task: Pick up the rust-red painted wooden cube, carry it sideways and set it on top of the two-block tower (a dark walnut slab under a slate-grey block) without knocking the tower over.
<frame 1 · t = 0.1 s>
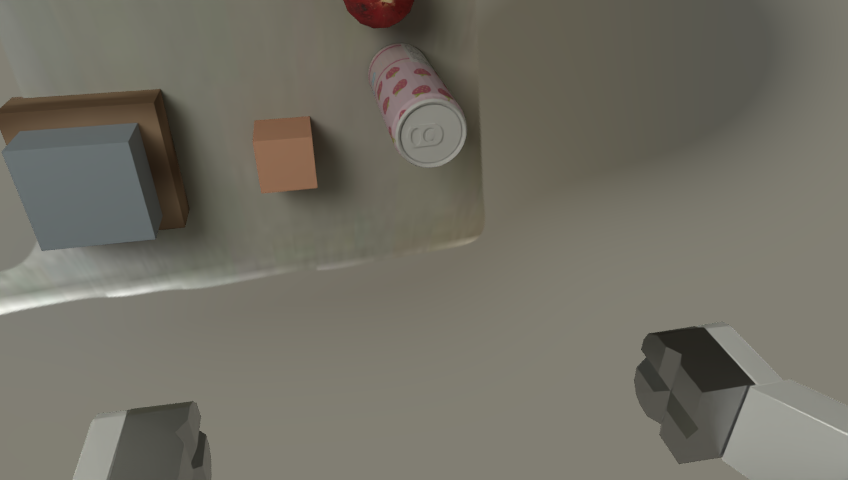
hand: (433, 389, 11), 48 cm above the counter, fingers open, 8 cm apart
rust cube: (285, 143, 58), on the counter
walnut slab: (107, 156, 56), on the counter, touching grey block
grey block: (95, 176, 53), point 3 cm above the counter, touching walnut slab
beverage can: (397, 72, 57), on the counter
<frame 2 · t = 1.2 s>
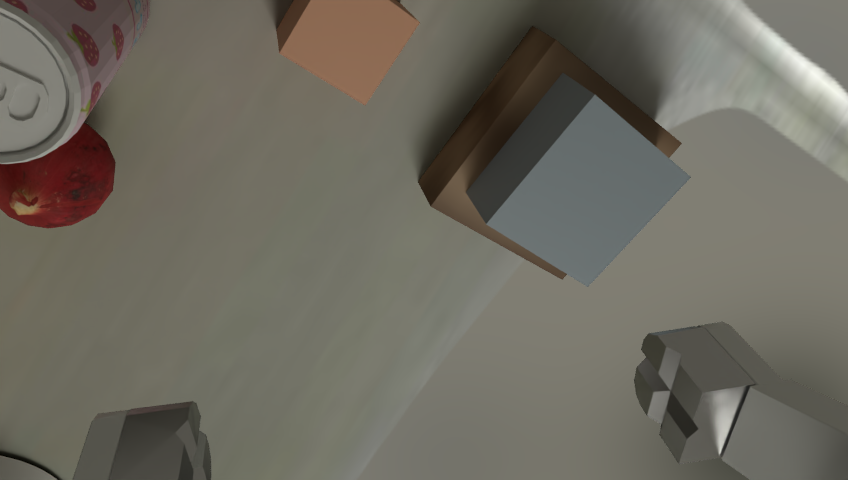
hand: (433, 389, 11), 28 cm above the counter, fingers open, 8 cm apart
rust cube: (338, 16, 34), on the counter
onion: (69, 140, 34), on the counter
walnut slab: (535, 149, 42), on the counter, touching grey block
grey block: (562, 171, 39), point 3 cm above the counter, touching walnut slab
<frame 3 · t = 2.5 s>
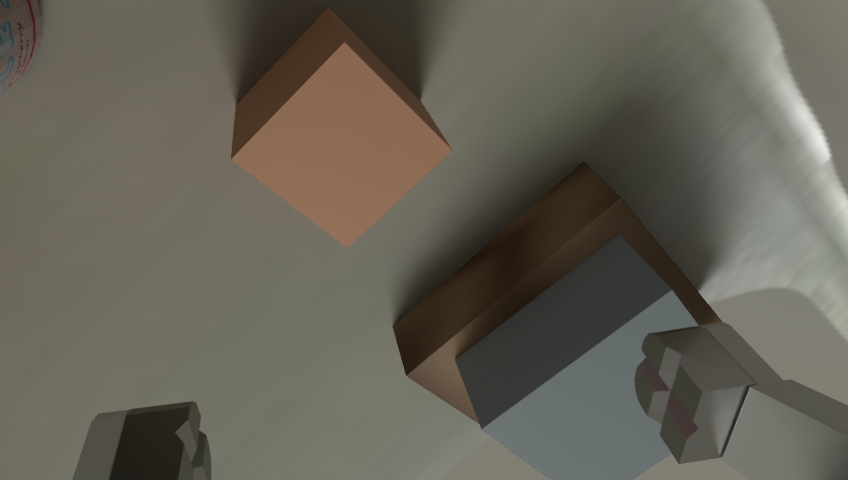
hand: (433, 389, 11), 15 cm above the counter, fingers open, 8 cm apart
rust cube: (330, 102, 24), on the counter
walnut slab: (548, 304, 33), on the counter
grey block: (583, 349, 29), point 3 cm above the counter
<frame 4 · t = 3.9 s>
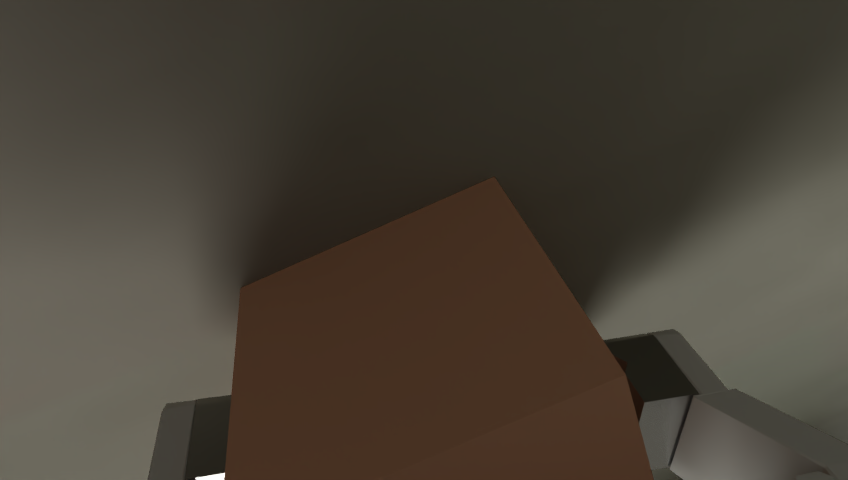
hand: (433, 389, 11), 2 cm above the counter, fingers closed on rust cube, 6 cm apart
rust cube: (416, 326, 12), on the counter, touching gripper
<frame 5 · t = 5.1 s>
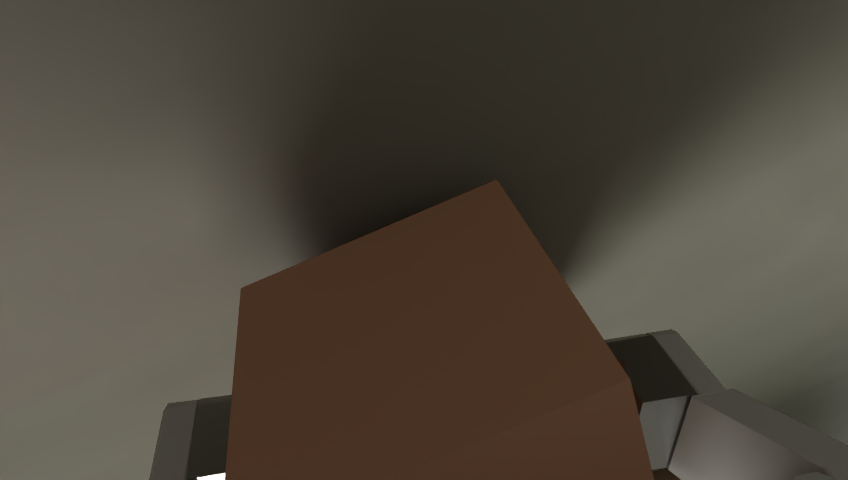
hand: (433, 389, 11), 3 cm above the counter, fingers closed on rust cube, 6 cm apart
rust cube: (416, 328, 12), point 1 cm above the counter, touching gripper
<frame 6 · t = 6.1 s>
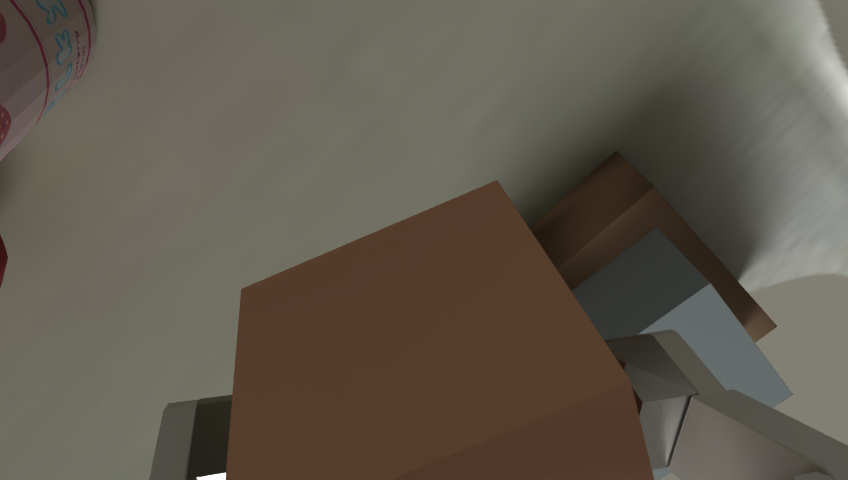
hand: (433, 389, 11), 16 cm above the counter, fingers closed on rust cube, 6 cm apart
rust cube: (416, 329, 12), point 14 cm above the counter, touching gripper
walnut slab: (584, 295, 32), on the counter
grey block: (619, 342, 29), point 3 cm above the counter
beverage can: (7, 12, 21), on the counter
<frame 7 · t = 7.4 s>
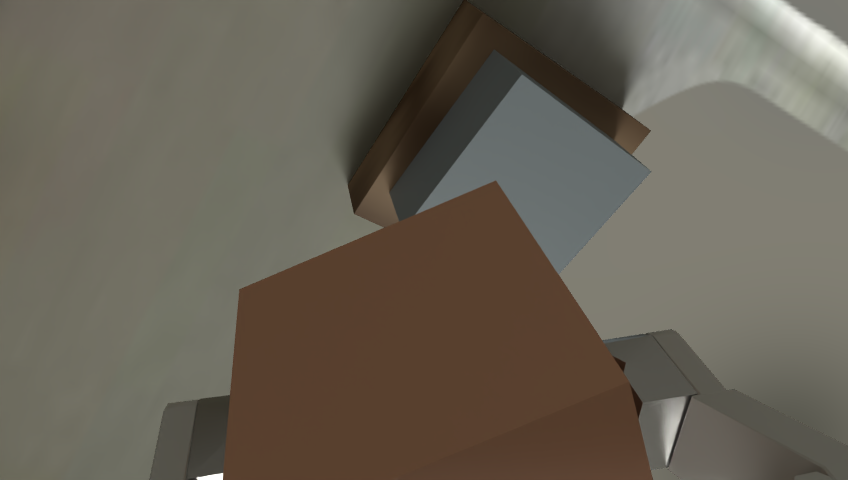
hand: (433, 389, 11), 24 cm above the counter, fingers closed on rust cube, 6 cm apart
rust cube: (415, 329, 12), point 23 cm above the counter, touching gripper
walnut slab: (484, 142, 37), on the counter, touching grey block
grey block: (503, 165, 33), point 3 cm above the counter, touching walnut slab
when the fingers open (12 cm above the counter, at t = 10.8 s): rust cube drops 3 cm, point 7 cm above the counter.
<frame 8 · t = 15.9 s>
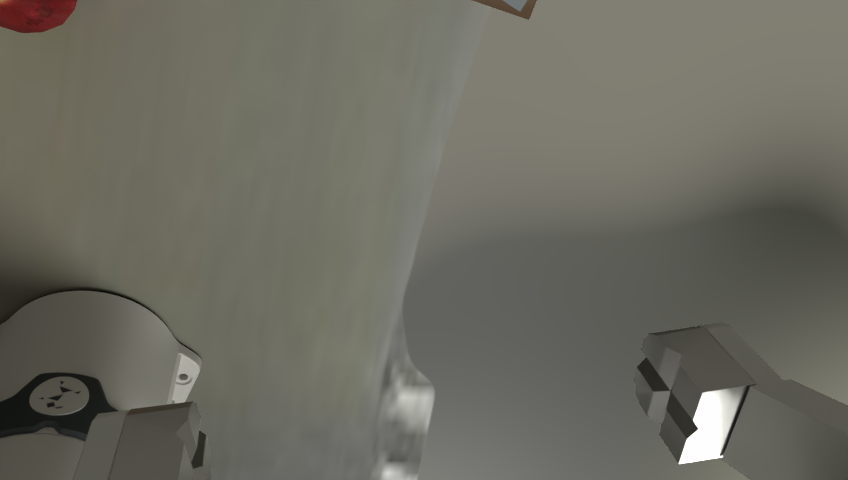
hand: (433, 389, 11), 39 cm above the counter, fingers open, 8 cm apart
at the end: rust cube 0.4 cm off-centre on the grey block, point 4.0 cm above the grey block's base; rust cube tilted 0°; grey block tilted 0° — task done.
